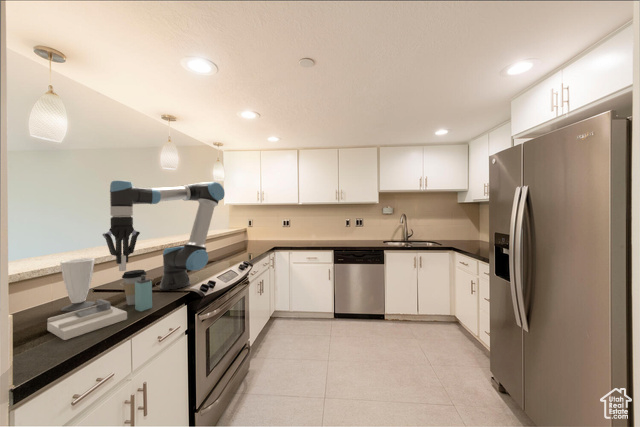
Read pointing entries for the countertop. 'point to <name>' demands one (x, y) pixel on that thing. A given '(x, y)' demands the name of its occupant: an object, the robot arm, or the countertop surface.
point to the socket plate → (83, 322)
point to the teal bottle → (143, 294)
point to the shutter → (95, 308)
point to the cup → (77, 282)
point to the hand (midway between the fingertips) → (122, 270)
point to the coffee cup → (131, 284)
